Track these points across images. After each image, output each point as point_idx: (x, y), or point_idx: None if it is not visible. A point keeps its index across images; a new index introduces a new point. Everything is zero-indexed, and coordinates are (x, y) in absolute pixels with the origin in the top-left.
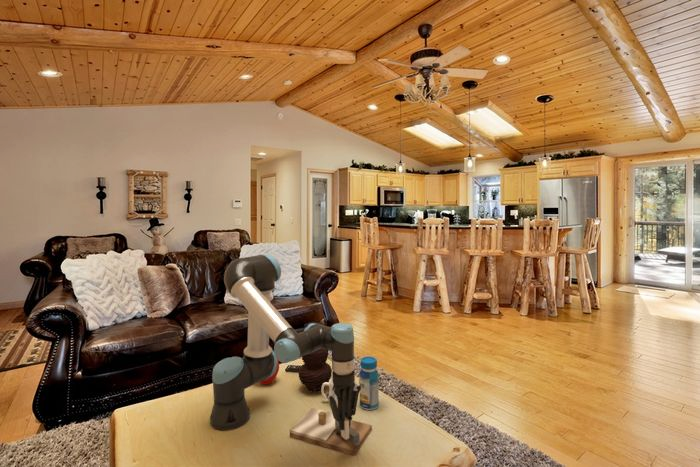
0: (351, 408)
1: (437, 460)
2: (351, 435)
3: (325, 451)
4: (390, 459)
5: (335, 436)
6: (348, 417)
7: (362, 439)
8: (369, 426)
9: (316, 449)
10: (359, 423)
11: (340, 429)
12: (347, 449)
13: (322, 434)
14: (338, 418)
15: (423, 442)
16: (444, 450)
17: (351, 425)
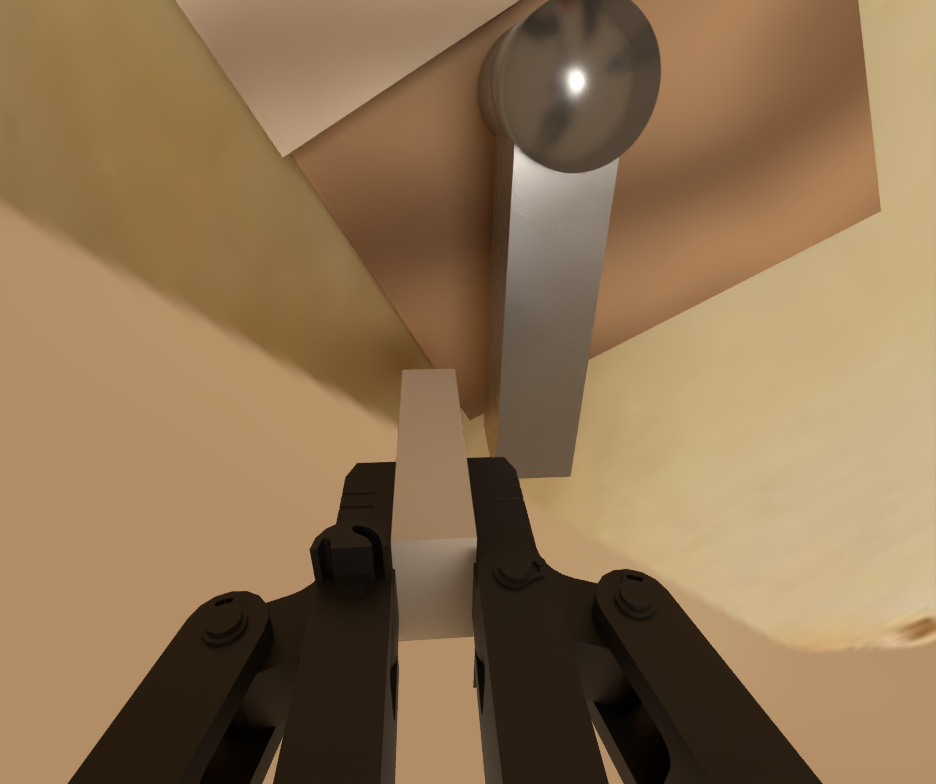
0: (674, 663)
1: (784, 637)
2: (494, 440)
3: (270, 208)
4: (625, 537)
5: (448, 122)
6: (477, 671)
7: (633, 333)
8: (846, 215)
9: (189, 113)
10: (837, 84)
11: (501, 194)
12: (436, 368)
13: (291, 5)
14: (232, 756)
15: (893, 528)
16: (881, 611)
17: (744, 49)
